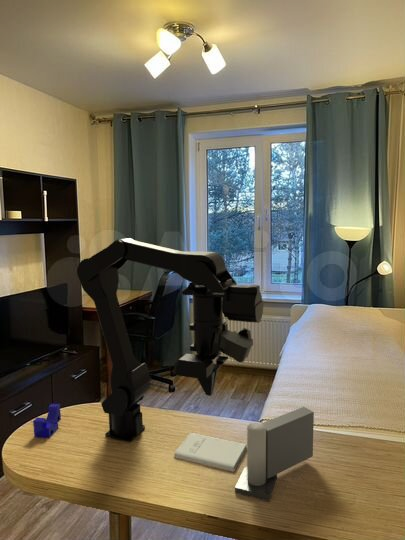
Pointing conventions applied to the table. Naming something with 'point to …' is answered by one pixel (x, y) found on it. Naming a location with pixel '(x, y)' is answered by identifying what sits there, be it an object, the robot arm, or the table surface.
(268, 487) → the arm mount
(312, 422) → the swing arm
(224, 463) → the external hard drive
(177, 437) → the table surface
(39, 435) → the cable holder
